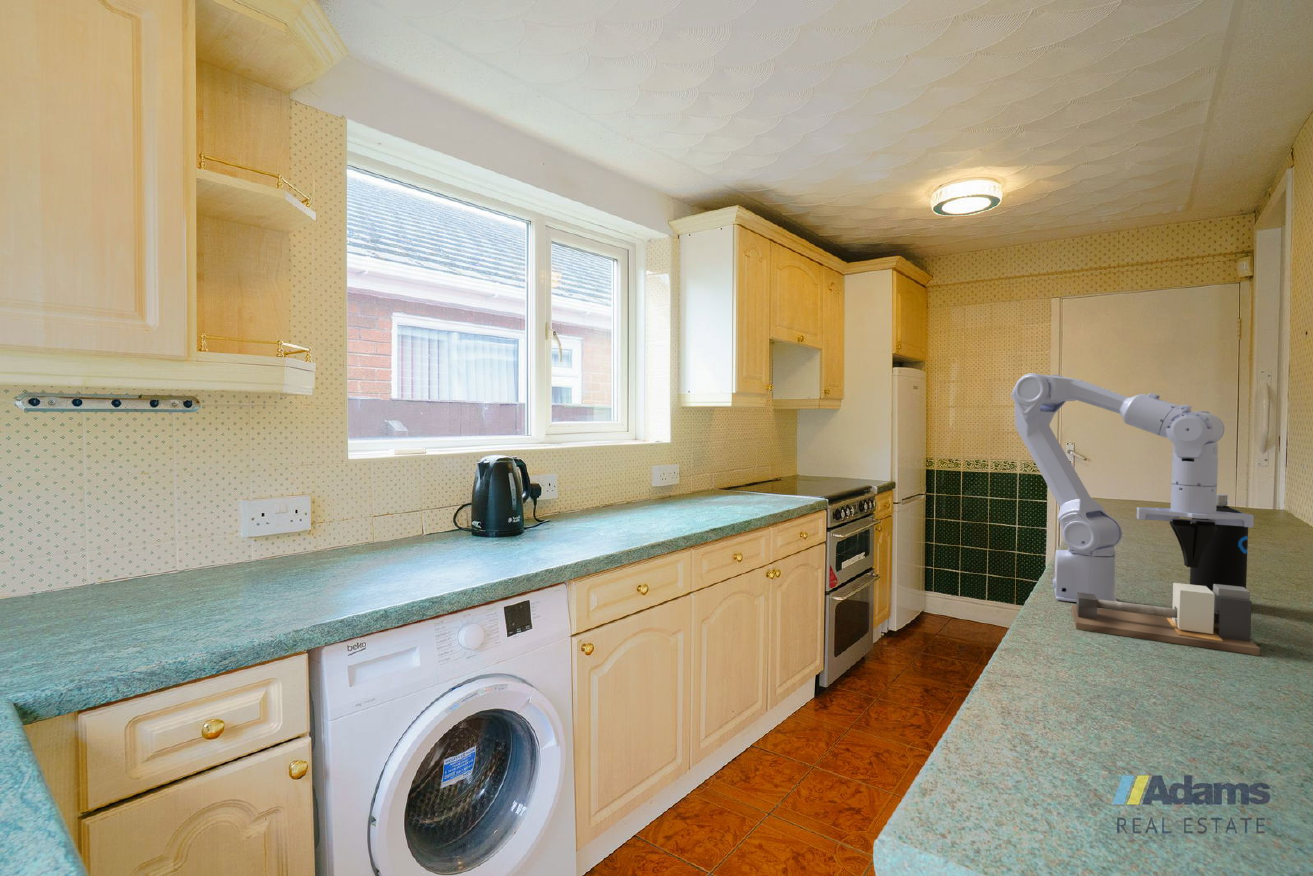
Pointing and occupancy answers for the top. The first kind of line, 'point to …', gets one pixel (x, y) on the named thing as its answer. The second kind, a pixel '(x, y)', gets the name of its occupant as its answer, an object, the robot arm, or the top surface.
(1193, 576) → the aerosol can
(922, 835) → the top surface
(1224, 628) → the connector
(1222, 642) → the rail board
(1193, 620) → the sleeve
